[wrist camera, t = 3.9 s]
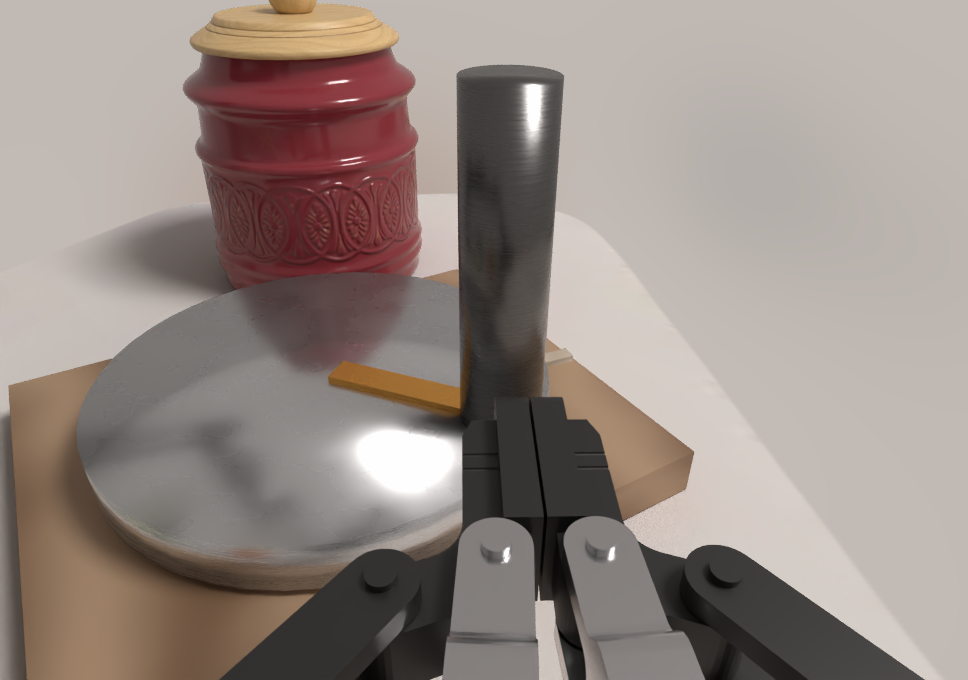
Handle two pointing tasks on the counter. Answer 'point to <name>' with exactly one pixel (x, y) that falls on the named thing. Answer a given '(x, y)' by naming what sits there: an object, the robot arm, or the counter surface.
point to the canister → (306, 142)
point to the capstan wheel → (338, 381)
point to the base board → (193, 603)
